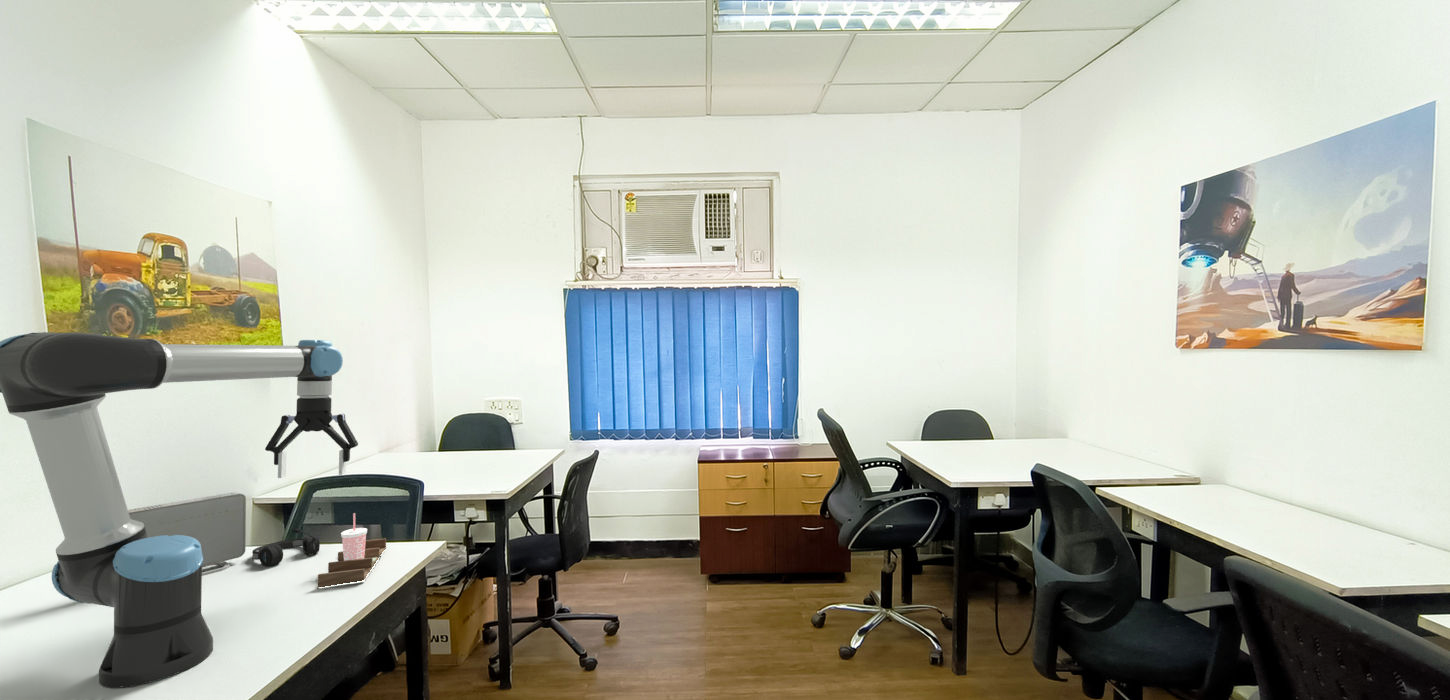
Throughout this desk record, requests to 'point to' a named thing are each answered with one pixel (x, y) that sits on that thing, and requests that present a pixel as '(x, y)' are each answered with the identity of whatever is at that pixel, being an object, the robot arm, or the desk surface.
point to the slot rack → (352, 565)
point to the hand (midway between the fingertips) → (312, 475)
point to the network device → (201, 525)
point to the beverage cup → (354, 542)
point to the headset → (274, 551)
